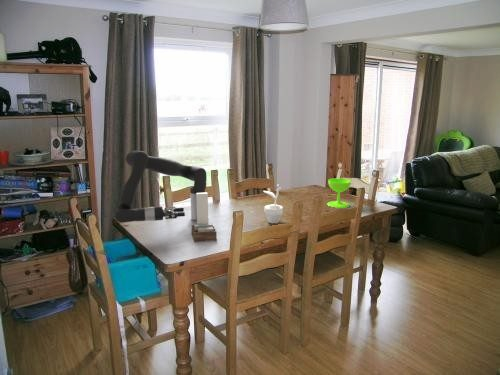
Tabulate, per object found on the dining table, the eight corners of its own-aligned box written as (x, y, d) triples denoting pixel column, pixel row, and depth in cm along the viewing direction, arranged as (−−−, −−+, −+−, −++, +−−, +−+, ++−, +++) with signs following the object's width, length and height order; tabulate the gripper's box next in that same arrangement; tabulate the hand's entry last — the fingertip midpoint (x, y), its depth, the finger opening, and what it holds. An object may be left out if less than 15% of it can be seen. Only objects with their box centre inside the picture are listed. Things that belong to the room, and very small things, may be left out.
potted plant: (285, 220, 243) (286, 181, 238) (279, 226, 233) (280, 185, 227) (266, 218, 248) (266, 180, 242) (259, 223, 238) (260, 183, 232)
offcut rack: (191, 233, 220) (191, 225, 219) (212, 231, 223) (212, 223, 222) (194, 242, 207) (194, 233, 206) (216, 240, 210) (216, 231, 209)
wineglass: (322, 203, 281) (323, 179, 277) (340, 201, 288) (341, 177, 284) (335, 209, 267) (337, 184, 263) (354, 206, 274) (356, 182, 270)
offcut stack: (194, 233, 214) (194, 224, 213) (212, 232, 217) (212, 223, 216) (195, 237, 208) (195, 228, 207) (214, 236, 211) (214, 227, 209)
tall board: (197, 230, 219) (196, 192, 214) (208, 229, 220) (207, 192, 215) (197, 232, 217) (196, 194, 211) (208, 231, 218) (207, 193, 213)
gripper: (153, 210, 202) (184, 208, 206) (153, 203, 216) (183, 201, 219) (154, 224, 204) (185, 222, 207) (154, 216, 217) (183, 214, 221)
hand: (184, 211), depth 213 cm, fingers open, 8 cm apart
